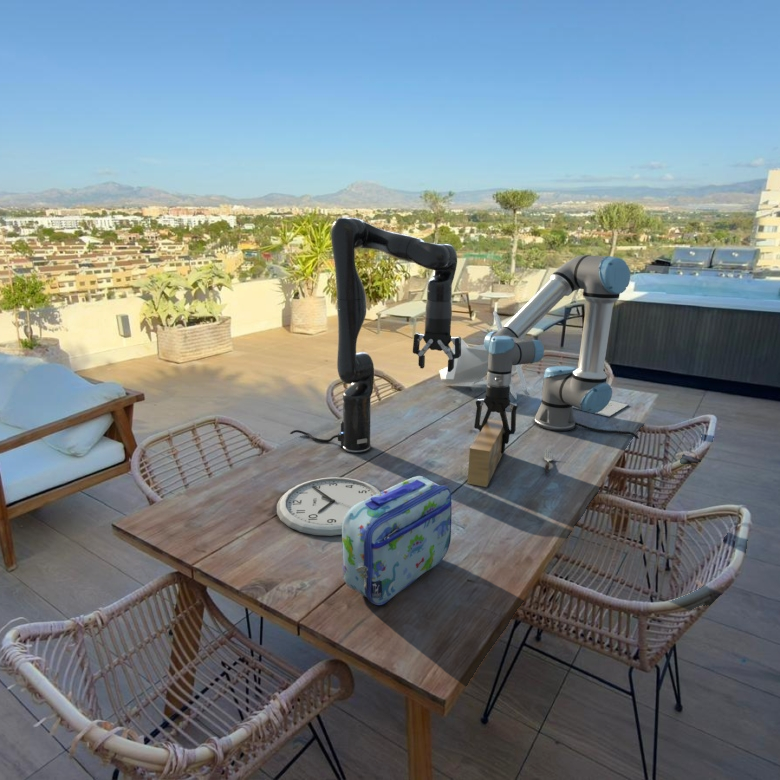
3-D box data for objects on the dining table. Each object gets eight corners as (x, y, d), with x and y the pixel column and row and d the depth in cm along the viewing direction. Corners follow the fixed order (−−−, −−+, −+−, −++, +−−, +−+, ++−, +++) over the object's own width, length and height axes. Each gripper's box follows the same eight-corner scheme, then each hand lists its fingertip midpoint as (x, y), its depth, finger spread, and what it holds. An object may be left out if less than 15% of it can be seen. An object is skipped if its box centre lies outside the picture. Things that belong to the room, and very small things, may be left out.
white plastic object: (461, 429, 252) (437, 405, 227) (444, 352, 274) (420, 323, 250) (535, 404, 240) (518, 377, 215) (510, 326, 262) (492, 293, 237)
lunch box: (371, 618, 102) (371, 524, 95) (336, 591, 109) (334, 502, 103) (455, 562, 119) (460, 479, 113) (420, 542, 126) (423, 463, 120)
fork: (541, 474, 162) (542, 468, 162) (545, 454, 177) (545, 449, 176) (550, 476, 162) (550, 470, 161) (553, 456, 176) (553, 450, 175)
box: (485, 450, 180) (488, 418, 177) (503, 453, 178) (505, 421, 175) (467, 483, 156) (469, 448, 153) (486, 487, 154) (489, 451, 151)
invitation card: (608, 416, 214) (573, 407, 224) (608, 416, 214) (573, 408, 224) (628, 404, 229) (594, 396, 238) (628, 405, 229) (594, 397, 238)
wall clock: (392, 527, 129) (268, 531, 127) (391, 533, 130) (269, 537, 127) (383, 473, 158) (282, 475, 155) (383, 478, 158) (282, 480, 156)
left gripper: (410, 315, 151) (409, 369, 156) (458, 319, 146) (455, 375, 151) (419, 312, 157) (417, 364, 162) (465, 315, 152) (462, 369, 157)
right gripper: (466, 383, 169) (462, 449, 176) (526, 391, 162) (519, 459, 169) (472, 378, 175) (468, 441, 182) (529, 384, 169) (523, 450, 176)
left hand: (435, 369), depth 156 cm, fingers open, 8 cm apart
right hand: (493, 450), depth 176 cm, fingers closed on box, 6 cm apart
